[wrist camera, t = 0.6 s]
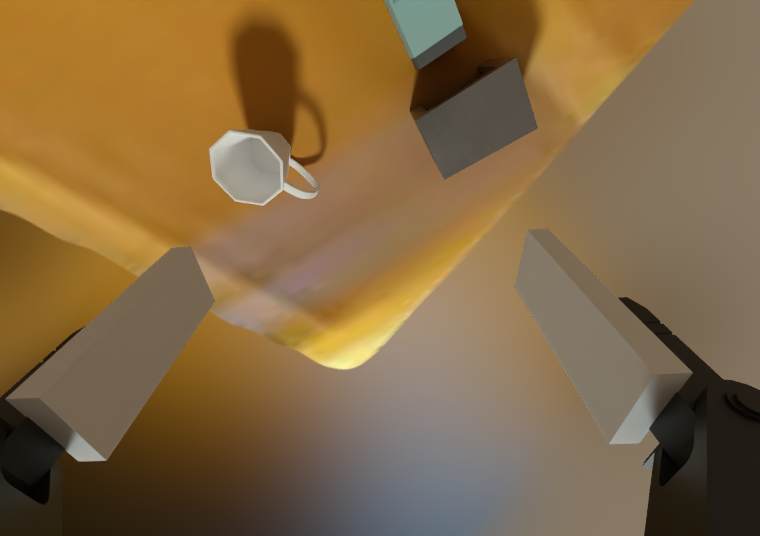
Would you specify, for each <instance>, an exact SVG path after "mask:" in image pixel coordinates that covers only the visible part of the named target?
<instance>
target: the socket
mask: <svg viewBox="0 0 760 536" xmlns="http://www.w3.org/2000/svg"><path fill="white" fill-rule="evenodd" d="M478 67H479V70H480V73H481V75H482V76H481V77H480V78H478V79H477V80H475V81H473V82H472V83H470V84H469V85H467V86H465V87H464V88H462V89H461V90H459V91H458V92H456V93H454V94H453V95H451V96H450V97H448V98H446V99H445V100H443V101H442V102H440V103H438V104H437V105H435V106H434V107H432V108H431V109H429V110H427V111H426V110H425V109H424V108H423V107H422V106H421V105H420V104H419V105H418V106H416V107H415V108H413V109H411V110H410V113H411V115H412V117H413V119H414V121H415V123H416V125H417V127H418V129H419V131H420V133H421V135H422V137H423V139H424V141H425V143H426V145H427V147H428V149H429V151H430V153H431V155H432V157H433V160H434V161H435V163H436V165H437V167H438V169H439V170H440V172H441V174H442V176H443V178H444V180H445V179H447V178H448V177H450V176H452V175H454V174H456V173H457V172H459V171H461V170H463V169H465V168H467V167H468V166H470V165H472V164H474V163H476V162H477V161H479V160H481V159H483V158H485V157H486V156H488V155H490V154H492V153H494V152H495V151H497V150H499V149H501V148H503V147H504V146H506V145H508V144H510V143H512V142H514V141H515V140H517V139H519V138H521V137H523V136H524V135H526V134H528V133H530V132H532V131H533V130H535V129H537V124H536V121H535V118H534V114H533V111H532V108H531V104H530V101H529V98H528V94H527V91H526V88H525V84H524V81H523V78H522V74H521V71H520V68H519V64H518V61H517V58H516V57H514V58H499V59H489V60H488V61H486V62H485V63H483V64H481V65H480V66H478Z"/></svg>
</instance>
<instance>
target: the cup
mask: <svg viewBox="0 0 760 536" xmlns="http://www.w3.org/2000/svg"><path fill="white" fill-rule="evenodd" d="M209 153H210V161H211V169H212V178H213V180H214V181H215V182H216V183H217V184H218V185H219V186H220V187H221V188H222V189H223V190H224V191H225V192H226V193H227V194H229V195H230V196H231V197H232V198H233V199H234V200H235V201H238V202H244V203H250V204H257V205H265V204H266V203H267V202H268V201H270V200H271V199H272V198H274V197H275V196H276V195H277V194H279V193H280V192H281V191H282V190H285V191H286V192H288V193H290V194H292V195H294V196H296V197H299V198H302V199H311V198H314V197H315V196H316V195H317V194H318V192H319V190H320V184H319V182H318V181H317V180H316V178H315V177H314V176H313V175H312V174H311V173H310V172H308V171H307V170H306V169H305V168H304V167H303V166H302V165H301V164H299V163H298V162H297V161H295V160H294V159H292V158H291V145H290V144H289V143H288V142H287V141H286V139H285V138H284V137H283V136H282V135H281V133H278V132H272V131H267V130H264V131H259V130H253V129H246V130H229V131H228V132H226V133H225V134H224V135H223V136H222V137H221V138H220V139H219V140H218V141H217V142H216V143H215V144H214V145H213V146H212V147H211V148H209ZM289 165H290V166H292V167H293V168H294V169H296V170H297V171H298V172H299V173H300V174H301V175H302V176H303V177H304V178H305V179H306V180H307V181H308V182H309V183H310V184H311V185H312V186H313V187H314V190H313V191H304V190H301V189H299V188H297V187H296V186H294V185H292V184H291V183H289V182H288V181H287V180H286V179H287V176H288V173H289Z"/></svg>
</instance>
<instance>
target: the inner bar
mask: <svg viewBox="0 0 760 536" xmlns="http://www.w3.org/2000/svg"><path fill="white" fill-rule="evenodd" d="M384 2H385V4H386V6H387V8H388V11H389V13H390V15H391V17H392V20H393V22H394V24H395V26H396V28H397V31H398V33H399V35H400V37H401V39H402V42H403V44H404V46H405V48H406V50H407V53H408V55H409V57H410V59H411V60H412V62H413V65H414V67H415V69H421V68H423V67H424V66H426V65H427V64H429V63H430V62H432V61H433V60H435V59H436V58H438V57H439V56H441V55H442V54H444V53H445V52H447V51H448V50H449V49H451V48H452V47H454V46H455V45H457V44H458V43H460V42H461V41H463V40H464V39H466V38H467V36H466V33H465V30H464V28H463V23H462V20H461V17H460V14H459V11H458V9H457V6H456V3H455V0H384Z"/></svg>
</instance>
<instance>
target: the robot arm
mask: <svg viewBox="0 0 760 536" xmlns="http://www.w3.org/2000/svg"><path fill="white" fill-rule="evenodd" d="M515 289H516V290H517V292H518V294H519V295H520V297H521V299H522V300H523V302H524V304H525V305H526V307H527V309H528V310H529V312H530V314H531V315H532V317H533V319H534V320H535V322H536V324H537V325H538V327H539V329H540V330H541V332H542V334H543V335H544V337H545V339H546V340H547V342H548V344H549V345H550V347H551V349H552V350H553V352H554V354H555V355H556V357H557V359H558V360H559V362H560V364H561V365H562V367H563V369H564V370H565V372H566V374H567V375H568V377H569V378H570V380H571V382H572V384H573V385H574V387H575V389H576V390H577V392H578V394H579V395H580V397H581V398H582V400H583V402H584V403H585V405H586V407H587V409H588V410H589V412H590V414H591V415H592V417H593V419H594V420H595V422H596V424H597V425H598V427H599V429H600V430H601V432H602V434H603V435H604V437H605V439H606V440H607V442H608V444H625V443H626V444H627V443H640V442H641V440H642V439H643V437H644V436H645V435H646V434H647V433H648V431H649V430H650V431H651V432H652V433H653V435H654V436H655V437H656V439H657V440H658V441H659V445H658V446H657V447H656V448H655V449H654V451H653V452H652V453H651V454H650V456H649V457H648V458H647V459H646V461H645V462H644V464H643V466H642V467H643V468H645V469H647V470H648V469H649V467H650V466H651V465H652V464H653V469H652V477H651V486H650V493H649V502H648V509H647V518H646V526H645V534H644V536H760V390H758V389H756V388H754V387H752V386H749V385H747V384H743V383H740V382H736V381H733V380H723V379H722V378H721V377H720V376H719V375H718V374H717V373H715V372H714V371H713V370H712V369H711V368H710V367H709V366H708V365H707V364H706V363H705V362H704V361H703V360H701V359H700V358H699V357H698V356H697V355H696V354H695V353H694V352H693V351H692V350H691V349H690V348H689V347H687V346H686V345H685V344H684V343H683V342H682V341H681V340H680V339H679V338H678V337H677V336H675V335H672V332H671V331H670V330H669V329H668V328H667V327H666V326H665V325H664V324H661V323H660V321H659V320H658V319H657V318H656V317H655V316H654V315H653V314H652V313H651V312H650V311H649V310H648V309H646V308H645V307H643V306H641V305H640V304H638V303H636V302H634V301H632V300H631V299H629V298H627V297H624V298H617V297H616V296H615V295H614V294H613V293H612V292H611V291H610V290H609V289H608V288H607V287H606V286H605V285H604V284H603V283H602V282H601V281H600V280H599V279H598V278H597V277H596V276H595V275H594V274H593V273H592V272H591V271H590V270H589V269H588V268H587V267H586V266H585V265H584V264H583V263H582V262H581V261H580V260H579V259H578V258H577V257H576V256H575V255H574V254H573V253H572V252H571V251H570V250H569V249H568V248H567V247H566V246H565V245H564V244H563V243H562V242H561V241H560V240H558V238H557V237H556V236H555V235H554V234H553V233H552V232H551V231H550V230H549V229H533V230H528V231H527V235H526V239H525V243H524V248H523V252H522V257H521V261H520V265H519V270H518V274H517V279H516V283H515ZM214 302H215V300H214V298H213V295H212V293H211V291H210V289H209V286H208V284H207V282H206V280H205V277H204V275H203V273H202V271H201V268H200V266H199V264H198V262H197V260H196V257H195V255H194V253H193V251H192V248H191V247H178V248H171V249H170V250H169V251H168V252H167V253H166V254H164V255H163V256H162V257H161V258H160V259H159V260H158V261H157V262H156V263H154V264H153V265H152V266H151V267H150V268H149V269H148V270H147V271H146V272H145V273H143V274H142V275H141V276H140V277H139V278H138V279H137V280H136V281H135V282H134V283H132V284H131V285H130V286H129V287H128V288H127V289H126V290H125V291H124V292H123V293H121V294H120V295H119V296H118V297H117V298H116V299H115V300H114V301H113V302H111V303H110V304H109V305H108V306H107V307H106V308H105V309H104V310H103V311H102V312H100V313H99V314H98V315H97V316H96V317H95V318H94V319H93V320H92V321H91V322H89V323H88V324H87V325H86V326H84V327H83V328H81V329H79V330H78V331H76V332H75V333H73V334H71V335H70V336H69V337H68V338H67V339H66V340H64V341H63V342H62V343H61V344H60V345H59V346H58V347H57V348H56V351H52V352H51V353H50V354H49V355H48V356H47V357H45V358H44V360H43V362H42V363H39V364H38V365H36V366H35V367H34V368H33V369H32V370H31V371H30V372H29V373H27V374H26V375H25V376H24V377H23V378H22V379H21V380H20V381H19V382H18V383H16V384H15V385H14V386H13V387H12V388H11V389H10V390H8V391H7V392H6V393H5V394H4V395H3V396H2V397H1V398H0V536H61V522H62V468H61V466H60V464H59V463H57V462H56V460H57V459H58V458H59V456H60V455H61V454H62V453H63V452H64V450H66V451H67V452H68V453H69V454H70V455H72V456H73V457H74V458H75V459H76V460H78V461H106V460H107V459H108V458H109V456H110V455H111V453H112V452H113V450H114V449H115V447H116V446H117V444H118V443H119V442H120V440H121V439H122V437H123V436H124V434H125V433H126V431H127V430H128V428H129V427H130V425H131V424H132V422H133V421H134V419H135V418H136V416H137V415H138V414H139V412H140V411H141V409H142V408H143V406H144V405H145V403H146V402H147V400H148V399H149V397H150V396H151V394H152V393H153V391H154V390H155V388H156V387H157V386H158V384H159V382H160V381H161V380H162V378H163V377H164V375H165V374H166V372H167V371H168V369H169V368H170V366H171V365H172V364H173V362H174V361H175V359H176V358H177V356H178V355H179V353H180V352H181V350H182V349H183V347H184V346H185V344H186V343H187V341H188V340H189V339H190V337H191V336H192V334H193V333H194V331H195V330H196V328H197V327H198V325H199V324H200V322H201V321H202V319H203V318H204V316H205V315H206V313H207V312H208V311H209V309H210V308H211V306H212V305H213V303H214Z"/></svg>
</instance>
